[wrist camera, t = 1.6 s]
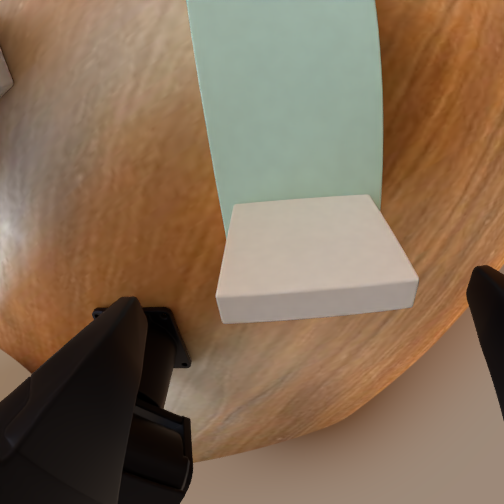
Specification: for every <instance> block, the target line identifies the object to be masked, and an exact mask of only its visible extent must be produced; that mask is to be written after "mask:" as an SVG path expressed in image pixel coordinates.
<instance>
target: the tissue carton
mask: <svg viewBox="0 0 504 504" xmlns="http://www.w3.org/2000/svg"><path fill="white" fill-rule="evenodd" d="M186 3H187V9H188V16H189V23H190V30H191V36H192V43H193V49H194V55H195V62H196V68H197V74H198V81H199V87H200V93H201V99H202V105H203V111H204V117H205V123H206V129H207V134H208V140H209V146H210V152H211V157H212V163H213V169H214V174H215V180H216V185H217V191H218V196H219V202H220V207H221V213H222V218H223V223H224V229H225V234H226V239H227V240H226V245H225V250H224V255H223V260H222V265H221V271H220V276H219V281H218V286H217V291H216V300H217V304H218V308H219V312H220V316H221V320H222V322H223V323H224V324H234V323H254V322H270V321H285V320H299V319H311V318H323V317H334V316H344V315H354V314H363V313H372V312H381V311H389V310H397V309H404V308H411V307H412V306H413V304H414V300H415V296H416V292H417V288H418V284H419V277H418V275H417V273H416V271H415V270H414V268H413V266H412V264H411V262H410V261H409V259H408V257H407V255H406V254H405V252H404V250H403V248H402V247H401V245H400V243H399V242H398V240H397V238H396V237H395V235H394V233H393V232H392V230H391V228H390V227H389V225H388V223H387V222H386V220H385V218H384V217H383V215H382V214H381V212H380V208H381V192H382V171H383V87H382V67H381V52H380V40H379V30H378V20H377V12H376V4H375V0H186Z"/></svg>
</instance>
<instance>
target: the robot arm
mask: <svg viewBox="0 0 504 504" xmlns="http://www.w3.org/2000/svg"><path fill="white" fill-rule="evenodd" d="M466 296H467V301H468V304H469V307H470V310H471V314H472V317H473V320H474V324H475V327H476V331H477V335H478V338H479V342H480V345H481V348H482V351H483V354H484V356H485V359H486V362H487V365H488V368H489V371H490V374H491V377H492V381H493V384H494V387H495V390H496V394H497V397H498V401H499V404H500V408H501V412H502V416H503V420H504V274H502V273H500V272H499V271H497V270H495V269H493V268H492V267H490V266H488V265H483V266H477V267H475V268H474V269H473V272H472V275H471V278H470V281H469V284H468V287H467V292H466ZM164 314H166V315H164ZM92 316H93V318H94V320H93V321H92V322H91V323H90V324H89V325H87V326H86V327H85V328H84V329H83V330H82V331H80V332H79V333H78V334H77V335H76V336H75V337H73V338H72V339H71V340H70V341H69V342H68V343H67V344H65V345H64V346H63V347H62V348H61V349H60V350H59V351H57V352H56V353H55V354H54V355H53V356H52V357H51V358H49V359H48V360H47V361H46V362H45V363H44V364H43V365H42V366H40V367H39V368H38V369H37V370H36V371H35V372H34V373H33V374H32V375H31V377H28V378H27V379H26V380H25V381H24V382H23V383H22V384H21V385H19V386H18V387H17V388H16V389H15V390H14V391H13V392H12V393H10V394H9V395H8V396H7V397H6V398H5V399H3V400H2V401H1V402H0V504H180V502H181V501H182V499H183V498H184V496H185V494H186V492H187V490H188V488H189V485H190V482H191V479H192V473H193V458H192V442H191V423H190V419H189V418H187V417H184V416H179V415H176V414H174V413H172V412H169V411H167V410H164V405H165V400H166V396H167V392H168V388H169V383H170V379H171V375H172V371H173V368H189V367H190V366H191V359H190V356H189V354H188V352H187V349H186V347H185V344H184V342H183V339H182V337H181V334H180V332H179V329H178V327H177V324H176V322H175V319H174V317H173V314H172V312H171V310H170V309H168V308H166V307H145V308H142V307H141V305H140V303H139V301H138V299H137V298H136V297H134V296H131V297H121V298H120V299H118V300H117V301H116V302H115V303H114V304H112V305H111V306H110V307H109V308H96V309H94V311H93V313H92Z"/></svg>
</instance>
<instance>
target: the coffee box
mask: <svg viewBox="0 0 504 504" xmlns="http://www.w3.org/2000/svg"><path fill="white" fill-rule="evenodd" d="M12 86H13V80H12V77H11V75H10V72H9V70H8V67H7V64H6V62H5V59H4V57H3V54H2V51H1V48H0V97H1V96H3V95H4V94H5V93H6V92H7V91H8V90H9V89H10V88H11V87H12Z"/></svg>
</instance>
